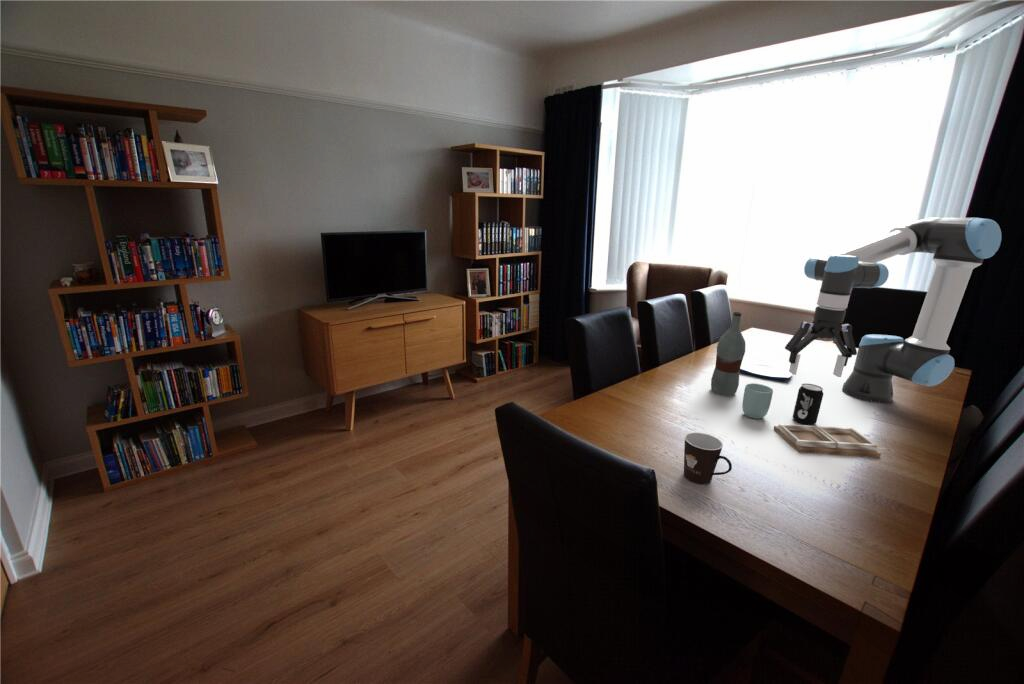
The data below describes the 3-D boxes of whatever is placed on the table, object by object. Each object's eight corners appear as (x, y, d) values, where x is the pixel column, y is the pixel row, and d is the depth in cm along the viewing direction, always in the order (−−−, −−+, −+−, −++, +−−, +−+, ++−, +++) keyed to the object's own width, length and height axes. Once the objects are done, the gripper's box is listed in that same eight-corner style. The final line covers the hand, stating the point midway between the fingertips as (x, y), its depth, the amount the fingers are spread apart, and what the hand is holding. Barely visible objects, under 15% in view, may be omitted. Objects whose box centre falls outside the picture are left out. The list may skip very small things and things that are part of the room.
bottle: (703, 388, 171) (717, 310, 162) (722, 386, 174) (736, 309, 166) (724, 398, 162) (739, 316, 154) (742, 395, 166) (758, 314, 157)
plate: (792, 371, 196) (793, 365, 195) (790, 385, 179) (791, 378, 178) (739, 361, 206) (741, 355, 205) (733, 373, 189) (734, 367, 189)
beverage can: (819, 427, 143) (828, 391, 140) (796, 424, 144) (804, 389, 141) (810, 418, 149) (819, 384, 146) (788, 415, 150) (796, 381, 147)
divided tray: (846, 433, 140) (848, 425, 139) (879, 457, 126) (882, 448, 125) (773, 429, 140) (775, 421, 140) (798, 452, 127) (801, 444, 126)
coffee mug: (673, 467, 117) (678, 432, 114) (705, 467, 118) (711, 432, 115) (694, 495, 106) (701, 457, 103) (729, 494, 107) (737, 456, 104)
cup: (756, 423, 144) (762, 393, 141) (735, 413, 151) (740, 385, 148) (772, 419, 148) (778, 390, 145) (750, 409, 154) (756, 381, 151)
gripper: (865, 307, 139) (847, 372, 145) (781, 302, 140) (767, 368, 146) (883, 312, 132) (863, 381, 138) (795, 307, 133) (780, 376, 139)
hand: (814, 374), depth 142 cm, fingers open, 13 cm apart
